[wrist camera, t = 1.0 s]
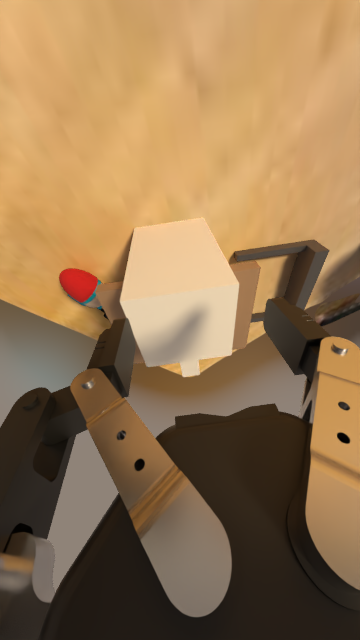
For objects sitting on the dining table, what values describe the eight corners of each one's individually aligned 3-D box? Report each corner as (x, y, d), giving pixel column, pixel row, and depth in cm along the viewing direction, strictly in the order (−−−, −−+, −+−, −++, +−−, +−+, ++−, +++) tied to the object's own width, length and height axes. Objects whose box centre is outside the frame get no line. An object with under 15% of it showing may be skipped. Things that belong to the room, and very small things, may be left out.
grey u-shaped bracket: (229, 320, 44) (234, 334, 41) (234, 251, 33) (242, 263, 30) (288, 311, 44) (297, 324, 41) (313, 239, 33) (329, 250, 30)
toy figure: (146, 300, 40) (79, 249, 30) (147, 320, 38) (73, 272, 27) (119, 316, 43) (49, 274, 32) (118, 335, 40) (41, 297, 30)
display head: (107, 232, 29) (72, 308, 17) (230, 212, 29) (287, 276, 16) (143, 333, 44) (139, 411, 32) (224, 321, 44) (251, 395, 32)
